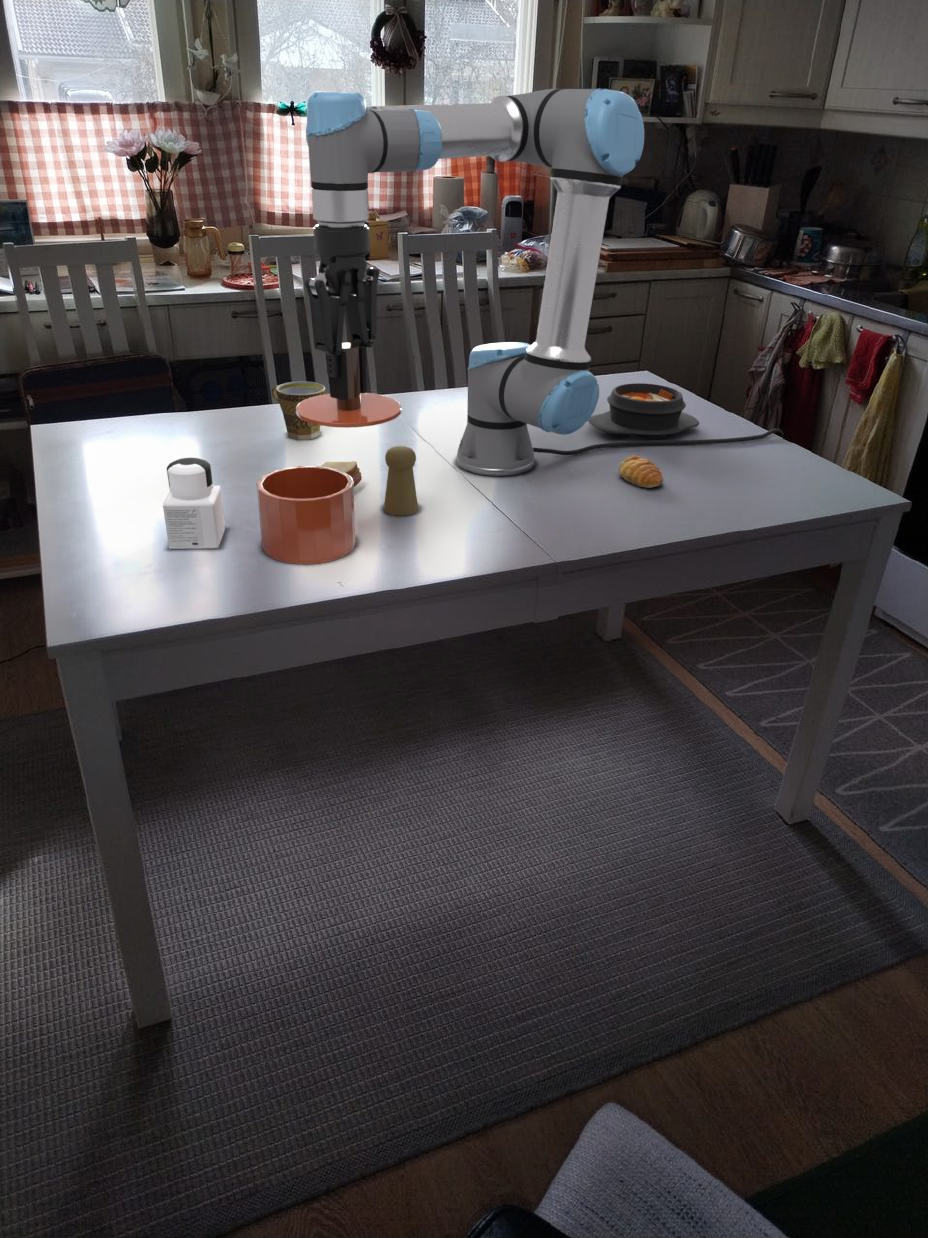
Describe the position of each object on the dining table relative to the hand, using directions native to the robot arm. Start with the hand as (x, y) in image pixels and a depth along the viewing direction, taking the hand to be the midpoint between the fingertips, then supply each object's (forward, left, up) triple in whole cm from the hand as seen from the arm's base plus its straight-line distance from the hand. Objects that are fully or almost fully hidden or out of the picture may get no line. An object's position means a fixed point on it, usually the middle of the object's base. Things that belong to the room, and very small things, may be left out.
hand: (348, 394), depth 136 cm
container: (+25, +1, -24) cm, 35 cm away
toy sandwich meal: (+9, -23, -24) cm, 35 cm away
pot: (+7, +1, -24) cm, 25 cm away
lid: (0, 0, -2) cm, 2 cm away
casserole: (-54, -65, -24) cm, 88 cm away
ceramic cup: (+20, -53, -24) cm, 62 cm away
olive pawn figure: (-6, -15, -24) cm, 29 cm away
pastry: (-50, -34, -24) cm, 65 cm away
